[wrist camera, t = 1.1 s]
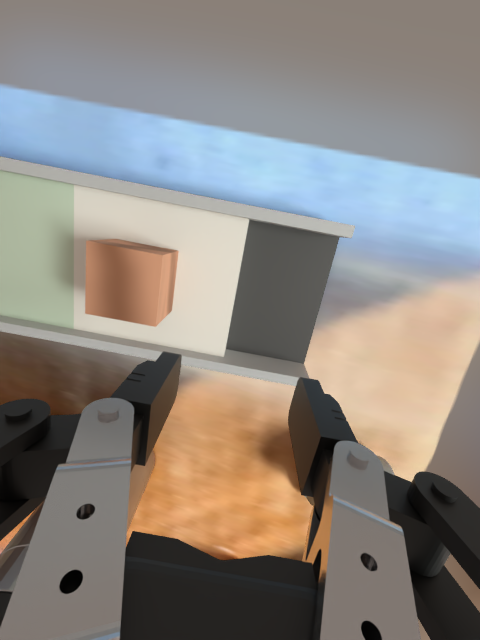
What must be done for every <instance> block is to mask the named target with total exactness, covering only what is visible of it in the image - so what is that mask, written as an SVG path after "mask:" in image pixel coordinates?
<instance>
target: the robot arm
mask: <svg viewBox="0 0 480 640" xmlns="http://www.w3.org/2000/svg"><path fill="white" fill-rule="evenodd" d="M181 360H182V355H181V354H176V353H171V352H165V351H163V352H162V353H161V355H160V356H159V358H158V359H157V360H156V362H154V361H148V360H147V361H145V362H143V363H141V364H139V365H137V367H136V368H135V369H134V370H133V371H132V373H131V374H130V375H129V376H128V377H127V379H126V380H125V381H124V382H123V383H122V384H121V385H120V386H119V388H118V389H117V390H116V391H115V392H114V393H113V395H112V396H111V397H110V398H105V399H100V400H97V401H94V402H92V403H91V404H89V405H88V406H86V407H85V409H84V410H83V412H82V414H75V415H50V406H49V405H48V404H47V403H46V402H44V401H41V400H37V399H21V400H15V401H11V402H8V403H5V404H3V405H0V541H1V540H2V539H3V538H4V537H5V536H6V535H7V534H8V533H9V532H11V531H12V530H13V529H14V528H15V527H16V526H17V525H18V524H19V523H20V522H22V521H23V520H24V519H25V518H26V517H27V516H28V515H29V514H30V513H31V512H32V511H34V512H33V513H32V514H31V516H30V517H29V518H28V519H27V521H26V522H25V523H24V525H23V526H22V527H21V528H20V530H19V531H18V532H17V534H16V535H15V536H14V537H13V539H12V540H11V541H10V543H9V544H8V545H7V546H6V548H5V549H4V550H3V552H2V553H1V554H0V640H421V637H420V631H419V625H418V619H419V620H420V622H421V624H422V626H423V627H424V629H425V631H426V632H427V634H428V636H429V637H430V639H431V640H480V612H479V611H478V610H477V608H476V607H475V606H474V604H473V603H472V602H471V600H470V599H469V598H468V596H467V595H466V594H465V592H464V591H463V590H462V588H461V587H460V586H459V585H458V583H457V582H456V581H455V579H454V578H453V577H452V575H451V574H450V573H449V572H448V570H447V569H446V567H445V566H444V564H445V562H446V560H447V558H448V557H449V555H450V554H452V555H453V557H454V558H455V559H456V560H457V562H458V563H459V564H460V565H461V567H462V568H463V569H464V570H465V572H466V573H467V574H468V575H469V577H470V578H471V579H472V580H473V581H474V583H475V584H476V585H477V587H478V588H479V589H480V508H479V507H478V506H477V505H476V504H474V502H473V501H472V500H470V499H469V497H467V496H466V495H465V494H464V493H463V492H462V491H461V490H460V489H459V488H458V487H456V486H455V485H454V484H453V483H451V482H450V481H448V480H446V479H445V478H443V477H441V476H438V475H436V474H433V473H430V472H419V473H417V474H416V475H415V477H414V479H413V481H412V482H410V481H407V480H405V479H403V478H400V477H398V476H395V475H393V474H391V473H388V472H386V471H384V469H383V465H382V463H381V461H380V459H379V458H378V457H377V456H376V455H375V454H374V453H373V452H372V451H371V450H369V449H368V448H366V447H365V446H363V445H361V444H359V443H358V442H357V440H356V438H355V436H354V434H353V432H352V430H351V428H350V426H349V424H348V422H347V421H346V418H345V416H344V414H343V413H342V410H341V407H340V405H339V403H338V402H337V401H336V400H335V399H334V398H333V397H332V396H331V395H329V394H324V392H323V390H322V387H321V385H320V383H319V381H318V380H314V379H308V378H303V377H300V378H299V379H298V381H297V385H296V388H295V392H294V395H293V399H292V402H291V406H290V410H289V416H288V425H289V430H290V436H291V441H292V447H293V452H294V458H295V463H296V469H297V474H298V480H299V485H300V491H301V495H304V496H309V497H313V499H314V506H313V509H312V511H311V515H310V521H309V526H308V532H307V538H306V543H305V549H304V555H303V560H302V561H298V560H292V559H287V558H281V557H276V556H270V555H266V556H258V557H250V558H242V559H234V560H219V559H217V558H214V557H212V556H210V555H208V554H206V553H204V552H202V551H200V550H198V549H196V548H194V547H192V546H190V545H188V544H186V543H184V542H182V541H180V540H178V539H174V538H169V537H163V536H158V535H152V534H146V533H141V532H135V531H133V532H132V534H131V537H130V539H129V542H128V544H127V547H126V534H127V531H128V529H129V526H130V524H131V522H132V519H133V517H134V514H135V512H136V510H137V507H138V505H139V502H140V500H141V497H142V495H143V493H144V491H145V488H146V486H147V483H148V481H149V478H150V476H151V473H152V471H153V468H154V466H155V455H154V452H153V447H154V445H155V443H156V441H157V439H158V437H159V434H160V432H161V430H162V428H163V426H164V423H165V421H166V419H167V417H168V415H169V413H170V410H171V408H172V406H173V404H174V401H175V398H176V394H177V390H178V383H179V375H180V368H181ZM417 617H418V619H417Z"/></svg>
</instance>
